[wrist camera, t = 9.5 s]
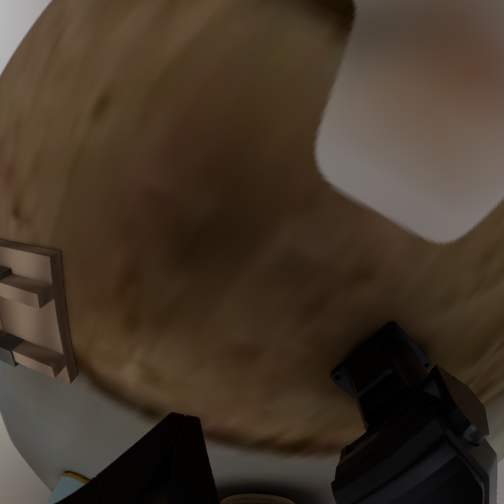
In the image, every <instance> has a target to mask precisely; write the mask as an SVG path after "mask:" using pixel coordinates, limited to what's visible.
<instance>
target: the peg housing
mask: <svg viewBox="0 0 504 504" xmlns="http://www.w3.org/2000/svg"><path fill="white" fill-rule="evenodd" d="M0 319H1V323H2V327H3V329H1V330H0V360H2V361H4V362H6V363H8V364H10V365H12V366H14V367H16V366H17V365H18V364H19V363H20V364H22V365H24V366H27V367H29V368H31V369H33V370H36V371H38V372H40V373H43V374H45V375H48V376H50V377H53V378H56V379H59V380H62V381H64V382H67V383H70V384H71V383H72V381H73V380H74V379H75V378H76V376H77V375H78V373H77V369H76V364H75V359H74V354H73V349H72V344H71V338H70V332H69V326H68V319H67V312H66V304H65V296H64V286H63V275H62V262H61V251H56V250H51V249H46V248H40V247H35V246H30V245H25V244H20V243H15V242H10V241H5V240H0Z"/></svg>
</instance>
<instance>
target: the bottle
mask: <svg viewBox="0 0 504 504" xmlns="http://www.w3.org/2000/svg"><path fill="white" fill-rule="evenodd" d="M88 481H90V480H88V479H86V478H84V477H83V476H80V475H78V474H75V473H65V474H63V475H62V477H61V479H60V480H59V482H58V484H57V486H56V488H55V489H54V491H53V493H52V495H51V497H50V499H49V501H48V502H47V504H54V503H56V502H58V501H60V500H62V499H63V498H65V497H67V496H68V495H70V494H72V493H73V492H75V491H76V490H78V489H79V488H80V487H82V486H83V485H85V484H86V483H87V482H88Z"/></svg>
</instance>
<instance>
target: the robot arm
mask: <svg viewBox="0 0 504 504" xmlns="http://www.w3.org/2000/svg"><path fill="white" fill-rule="evenodd" d="M392 327H394V329H393V330H390V329H391V328H392ZM426 363H427V364H426ZM425 364H426V365H425ZM431 364H432V363H431V361H430V359H429V358H428V357H427V356H426V355H425V354H424V353H423V352H422V350H421V349H420V348H419V347H418V346H417V345H416V344H415V343H414V342H413V341H412V339H411V338H410V337H409V336H408V335H407V334H406V333H405V332H404V331H403V330H402V329H401V328H400V327H399V325H398V324H397V323H395V322H389V323H388V324H387V325H386V326H385V327H384V328H382V329H381V330H380V331H379V332H378V333H377V334H376V335H375V336H374V337H373V338H371V339H370V340H369V341H367V342H366V343H365V344H364V345H363V346H362V347H361V348H359V349H358V350H357V351H356V352H355V353H354V354H352V355H351V356H350V357H349V358H348V359H346V361H345V362H343V363H342V364H341V365H340V366H338V367H337V368H336V369H335V370H333V371H332V372H331V374H330V377H331V380H332V381H333V382H334V383H335V384H337V385H338V386H339V387H341V388H342V389H343V390H345V391H346V392H347V393H349V394H350V395H351V396H353V397H354V398H355V399H356V402H357V405H358V408H359V411H360V414H361V417H362V420H363V424H364V427H365V430H366V433H365V434H363V435H362V436H361V437H360V438H358V439H357V440H356V441H354V442H353V443H352V444H351V445H347V446H346V447H344V448H343V449H342V450H341V456H340V461H339V463H338V465H337V467H336V474H335V480H334V481H332V483H331V487H332V492H333V496H334V498H335V501H336V504H496V498H497V455H496V453H495V451H494V450H493V449H492V447H491V446H490V444H489V443H488V442H487V440H486V439H485V438H486V437H487V436H488V435H489V428H488V422H487V417H486V411H485V407H484V405H483V404H482V403H481V402H480V400H479V399H478V398H477V397H476V396H475V394H474V393H473V392H472V391H471V390H470V388H469V387H468V386H466V385H465V384H463V383H462V382H461V381H459V380H458V379H457V378H455V377H454V376H452V375H451V374H450V373H448V372H447V371H445V370H444V369H442V368H441V367H440V366H438V365H437V364H436V365H435V366H434V367H433V368H432V369H431V370H430V373H429V372H428V371H427V370H428V369H429V368H430V367H431ZM336 375H339V376H338V377H335V376H336ZM54 504H220V500H219V497H218V493H217V489H216V486H215V482H214V478H213V474H212V470H211V466H210V462H209V458H208V454H207V449H206V445H205V441H204V436H203V432H202V427H201V422H200V419H199V417H195V416H190V415H186V416H185V415H184V414H180V413H175V412H171V413H169V414H168V415H167V416H166V417H165V418H164V419H163V420H162V421H160V422H159V423H158V424H157V425H156V426H155V427H154V428H152V429H151V430H150V431H149V432H148V433H147V434H146V435H144V436H143V437H142V438H141V439H140V440H139V441H137V442H136V443H135V444H134V445H133V446H132V447H130V448H129V449H128V450H127V451H126V452H124V453H123V454H122V455H121V456H120V457H118V458H117V459H116V460H115V461H114V462H112V463H111V464H110V465H109V466H107V467H106V468H105V469H104V470H102V471H101V472H100V473H99V474H97V475H96V478H95V477H93V478H92V479H91V480H90V481H88V482H87V483H86V484H85V485H83V486H82V487H80V488H79V489H78V490H76V491H75V492H73V493H72V494H70V495H68V496H67V497H65V498H63V499H62V500H60V501H58V502H56V503H54Z"/></svg>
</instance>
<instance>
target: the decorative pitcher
mask: <svg viewBox="0 0 504 504" xmlns="http://www.w3.org/2000/svg"><path fill="white" fill-rule="evenodd" d="M220 504H295V503H294V502H293V501H291V500H290V499H287V498H284V497H281V496H276V495H270V494H258V493H244V494H236V495H232V496H229V497H227V498H225V499H223V500H222V501H221V502H220Z"/></svg>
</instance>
